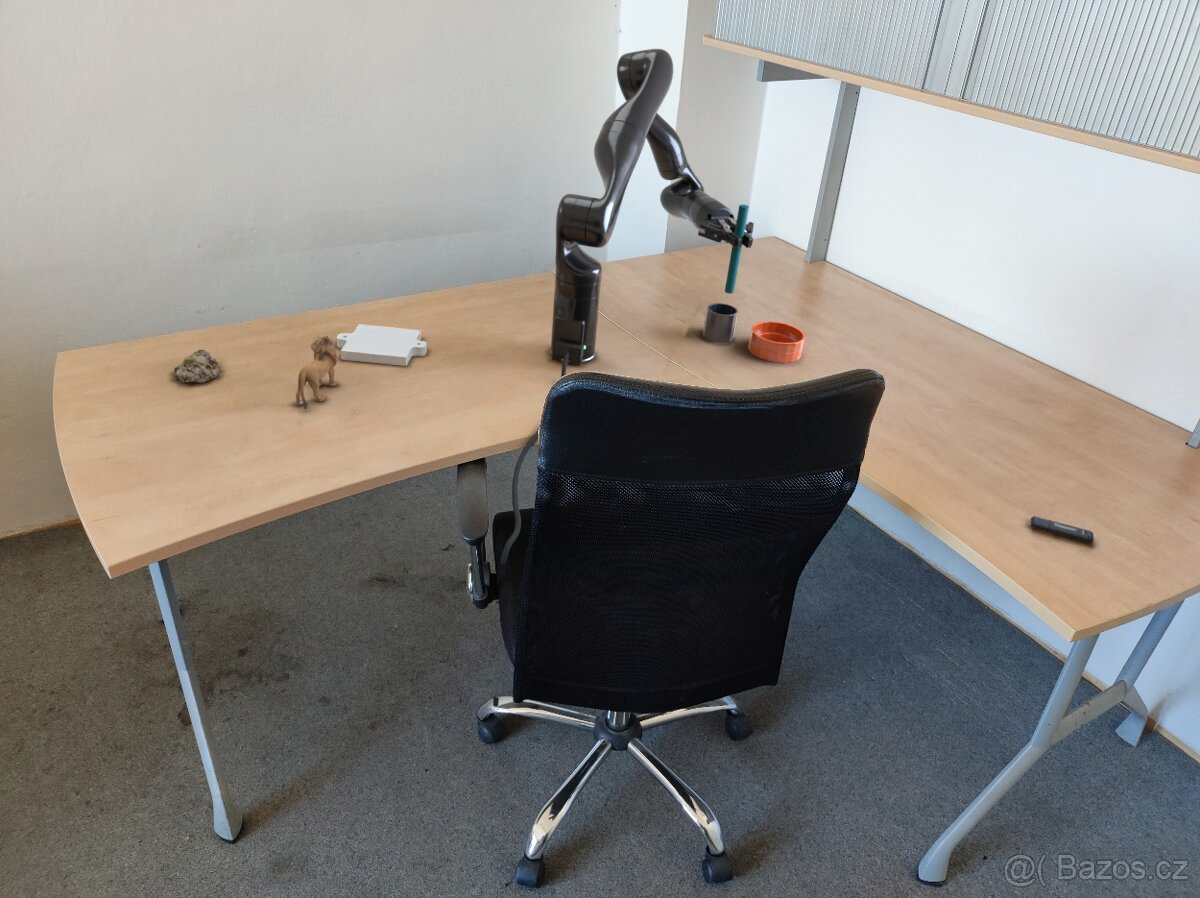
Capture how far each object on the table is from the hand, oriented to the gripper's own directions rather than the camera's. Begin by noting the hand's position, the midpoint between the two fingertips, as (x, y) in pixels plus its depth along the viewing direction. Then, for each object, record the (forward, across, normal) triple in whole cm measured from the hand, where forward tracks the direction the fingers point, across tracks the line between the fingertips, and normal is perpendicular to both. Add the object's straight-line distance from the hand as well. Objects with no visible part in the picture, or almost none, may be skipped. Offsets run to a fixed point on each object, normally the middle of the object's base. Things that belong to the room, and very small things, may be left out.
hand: (744, 243), depth 185 cm
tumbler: (-3, -1, +23) cm, 24 cm away
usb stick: (+75, +25, +23) cm, 83 cm away
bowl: (+6, +9, +23) cm, 25 cm away
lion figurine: (+8, -88, +23) cm, 91 cm away
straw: (-3, 0, +12) cm, 12 cm away
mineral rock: (-3, -108, +23) cm, 111 cm away
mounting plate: (-8, -74, +23) cm, 78 cm away
